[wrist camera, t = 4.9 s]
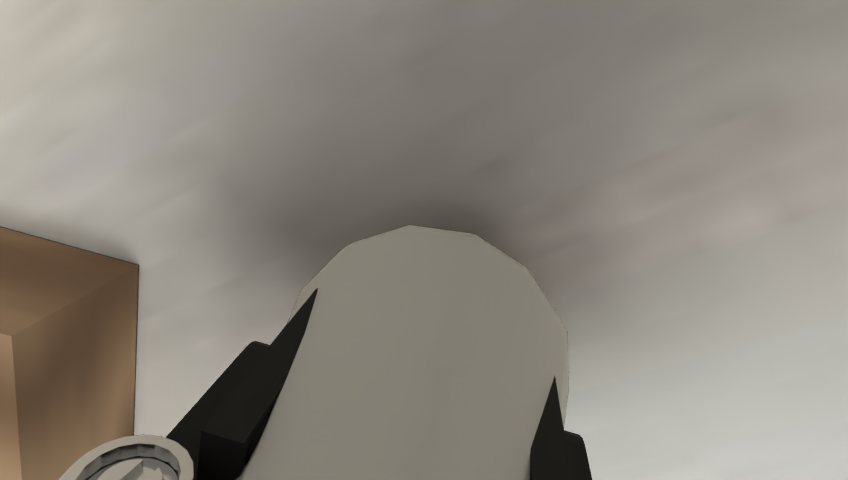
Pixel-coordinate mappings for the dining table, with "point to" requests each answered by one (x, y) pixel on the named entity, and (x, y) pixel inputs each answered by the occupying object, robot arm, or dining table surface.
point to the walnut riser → (62, 354)
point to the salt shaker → (416, 366)
